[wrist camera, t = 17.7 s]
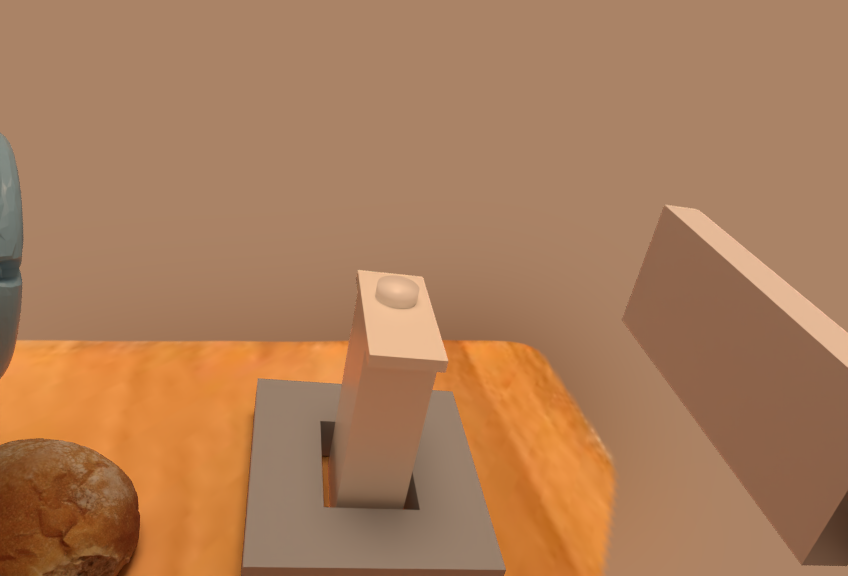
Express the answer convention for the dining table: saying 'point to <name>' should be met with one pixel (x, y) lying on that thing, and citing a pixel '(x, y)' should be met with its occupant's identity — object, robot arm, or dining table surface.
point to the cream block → (384, 391)
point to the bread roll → (64, 511)
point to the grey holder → (360, 527)
